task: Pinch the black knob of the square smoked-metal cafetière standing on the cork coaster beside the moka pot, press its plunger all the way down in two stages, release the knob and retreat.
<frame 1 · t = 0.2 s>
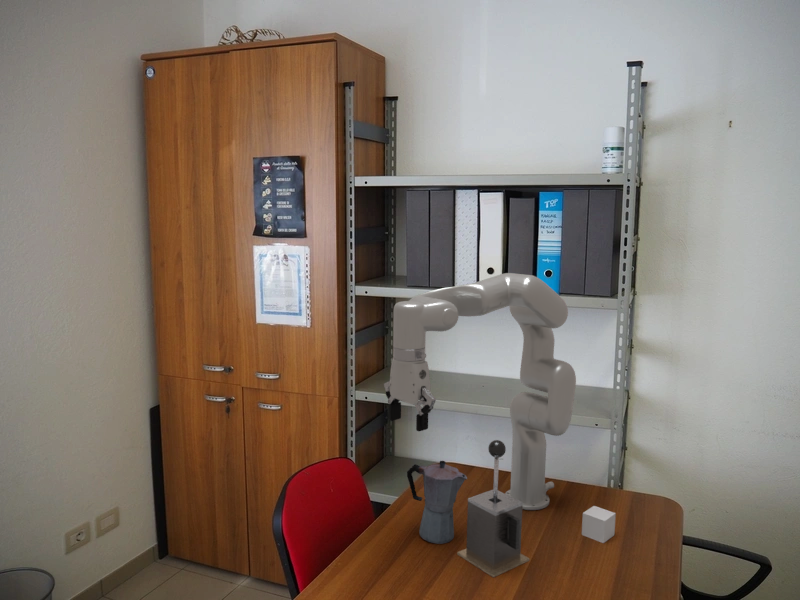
hand: (408, 424, 149), 31 cm above the table, fingers open, 9 cm apart
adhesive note: (597, 535, 161), on the table
plunger: (496, 474, 146), point 21 cm above the table, slide at 0.0 cm
cafetiere: (493, 557, 149), on the table
moka pot: (435, 536, 159), on the table
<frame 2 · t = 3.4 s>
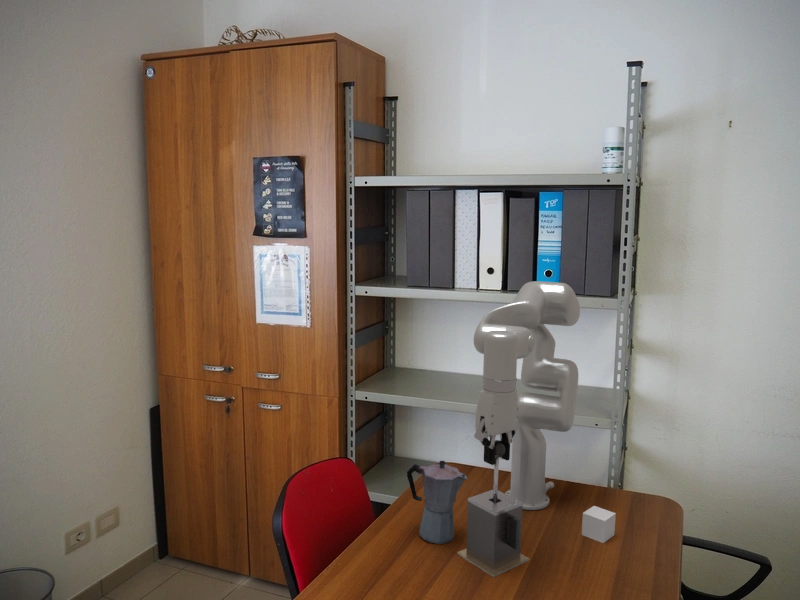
hand: (496, 460, 146), 24 cm above the table, fingers closed on plunger, 4 cm apart
plunger: (496, 475, 146), point 21 cm above the table, slide at 0.0 cm, touching gripper
everything else where it was.
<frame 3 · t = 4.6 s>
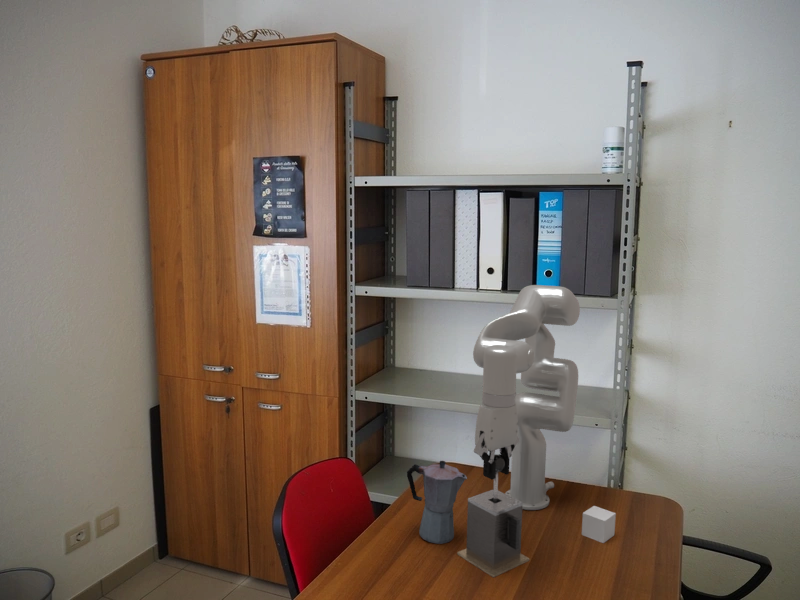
hand: (496, 474, 146), 21 cm above the table, fingers closed on plunger, 4 cm apart
plunger: (495, 489, 147), point 17 cm above the table, slide at 3.5 cm, touching gripper
everything else where it was.
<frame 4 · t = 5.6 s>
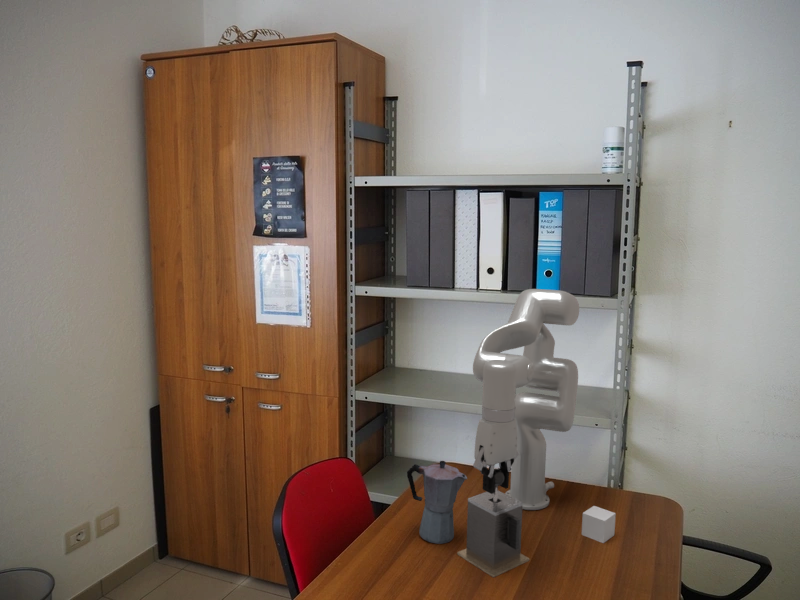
hand: (495, 488, 147), 17 cm above the table, fingers closed on plunger, 4 cm apart
plunger: (495, 503, 147), point 14 cm above the table, slide at 6.9 cm, touching gripper
everything else where it was.
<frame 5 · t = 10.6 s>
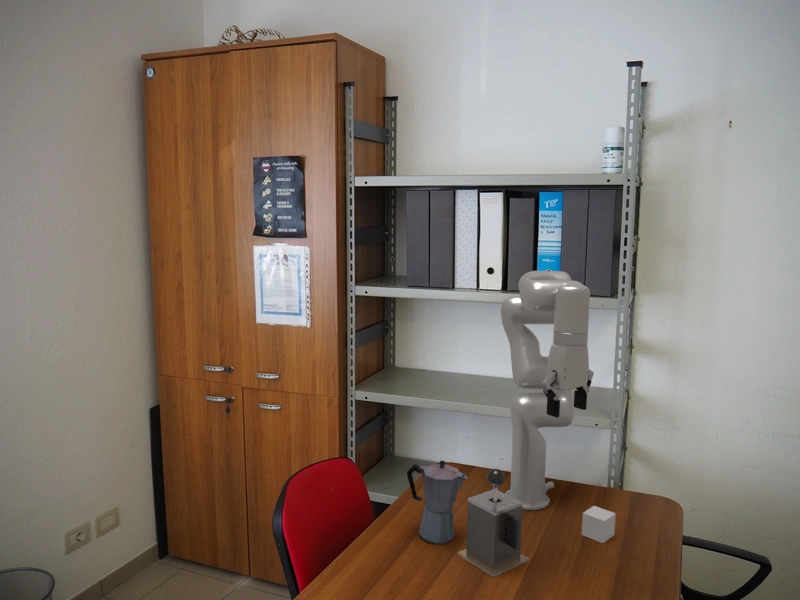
hand: (566, 412, 144), 36 cm above the table, fingers open, 9 cm apart
plunger: (495, 503, 147), point 14 cm above the table, slide at 7.0 cm
everything else where it was.
at the end: plunger slide at 7.0 cm; the gripper is holding nothing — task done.
